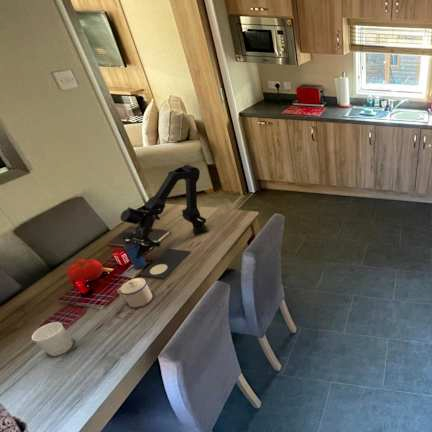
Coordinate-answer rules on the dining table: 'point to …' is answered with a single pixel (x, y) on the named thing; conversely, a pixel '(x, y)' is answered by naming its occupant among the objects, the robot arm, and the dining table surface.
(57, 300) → the dining table surface
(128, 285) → the teacup with lid
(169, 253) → the mat
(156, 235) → the hardcover book
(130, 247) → the tube
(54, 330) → the white cup
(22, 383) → the dining table surface
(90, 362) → the dining table surface
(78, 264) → the tomato
